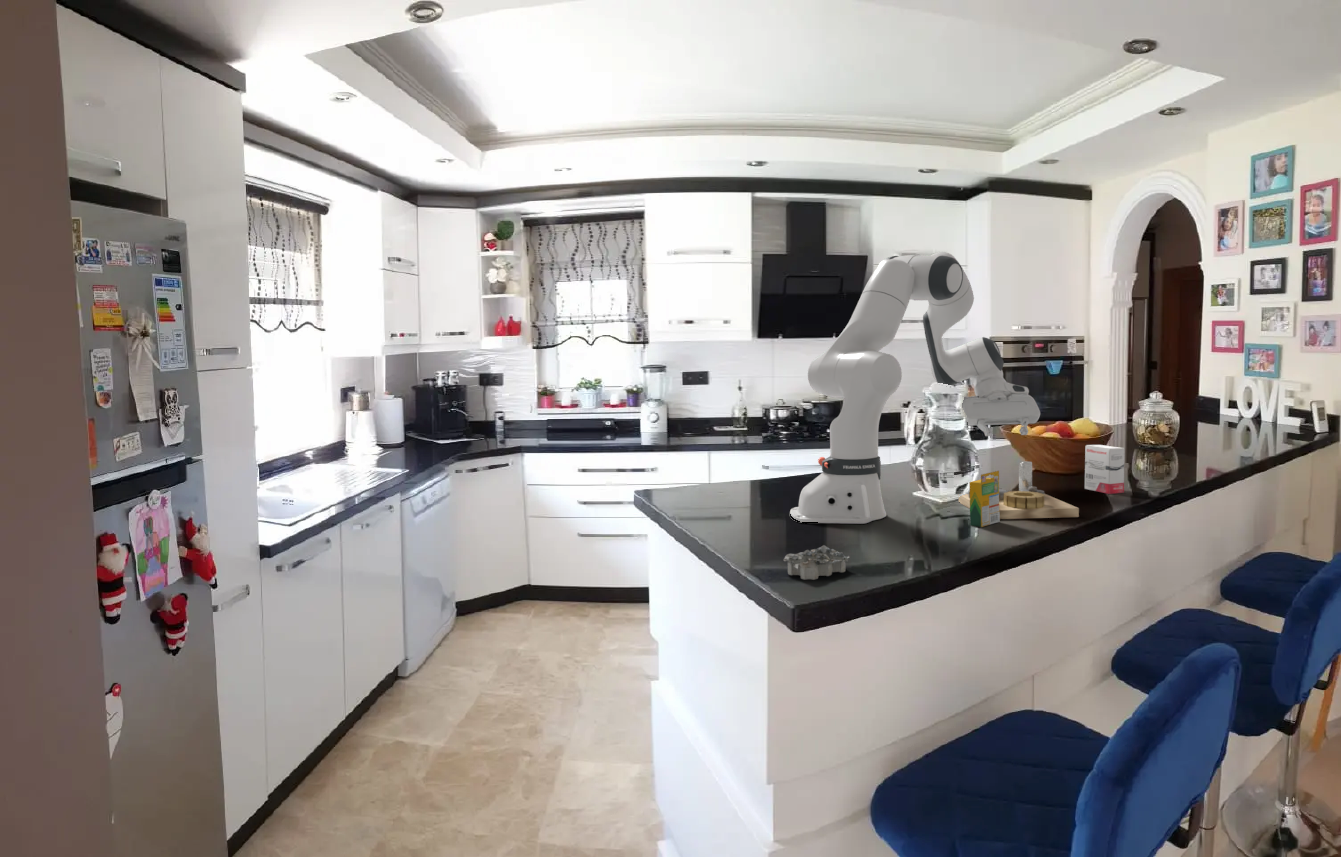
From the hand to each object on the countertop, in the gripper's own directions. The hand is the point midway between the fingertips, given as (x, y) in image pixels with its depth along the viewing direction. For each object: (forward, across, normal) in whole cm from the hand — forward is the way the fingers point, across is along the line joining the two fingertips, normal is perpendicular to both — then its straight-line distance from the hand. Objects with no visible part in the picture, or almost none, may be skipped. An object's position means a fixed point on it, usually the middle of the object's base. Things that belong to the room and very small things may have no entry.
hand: (1006, 434), depth 202 cm
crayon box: (+39, -20, -18) cm, 47 cm away
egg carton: (+62, -61, -41) cm, 96 cm away
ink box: (+16, +22, +6) cm, 28 cm away
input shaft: (+19, 0, +2) cm, 19 cm away
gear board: (+29, -8, -8) cm, 31 cm away
